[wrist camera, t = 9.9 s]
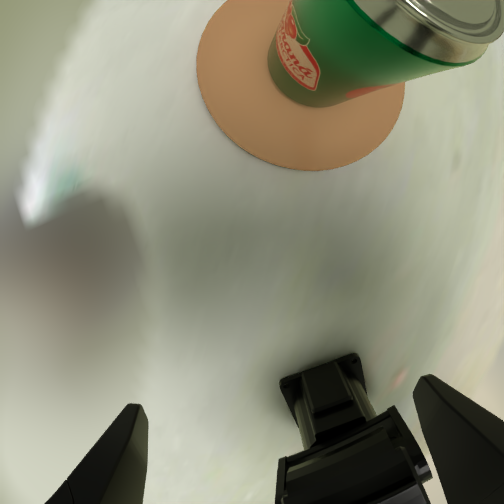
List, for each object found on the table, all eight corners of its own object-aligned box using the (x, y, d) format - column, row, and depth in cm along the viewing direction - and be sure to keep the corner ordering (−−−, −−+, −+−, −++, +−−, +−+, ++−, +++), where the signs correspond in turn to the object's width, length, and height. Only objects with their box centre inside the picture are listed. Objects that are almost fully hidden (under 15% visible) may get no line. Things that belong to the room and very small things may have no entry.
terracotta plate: (414, 140, 18) (427, 140, 16) (241, 196, 18) (242, 201, 17) (351, -20, 14) (359, -30, 12) (173, 20, 15) (168, 10, 13)
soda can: (260, 27, 14) (310, -128, 2) (348, 28, 14) (480, -73, 3) (272, 111, 15) (365, 38, 4) (360, 108, 16) (535, 79, 4)
